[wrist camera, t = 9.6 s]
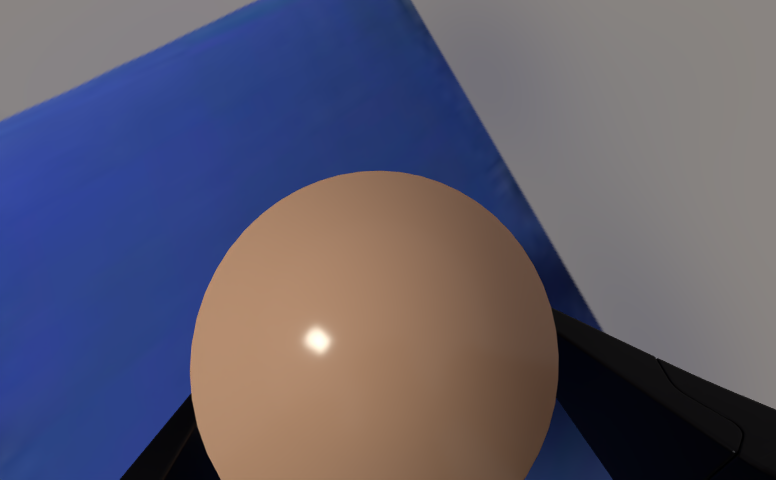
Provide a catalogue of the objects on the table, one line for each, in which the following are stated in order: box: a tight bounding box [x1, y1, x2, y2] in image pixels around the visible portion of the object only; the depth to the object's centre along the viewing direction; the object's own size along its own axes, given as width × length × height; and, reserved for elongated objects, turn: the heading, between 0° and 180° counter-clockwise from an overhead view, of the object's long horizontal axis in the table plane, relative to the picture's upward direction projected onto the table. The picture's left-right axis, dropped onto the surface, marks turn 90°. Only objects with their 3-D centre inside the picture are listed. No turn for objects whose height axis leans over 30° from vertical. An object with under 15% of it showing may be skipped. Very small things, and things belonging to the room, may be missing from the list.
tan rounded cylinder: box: [190, 171, 559, 480], centre depth 10 cm, size 5×5×13 cm
